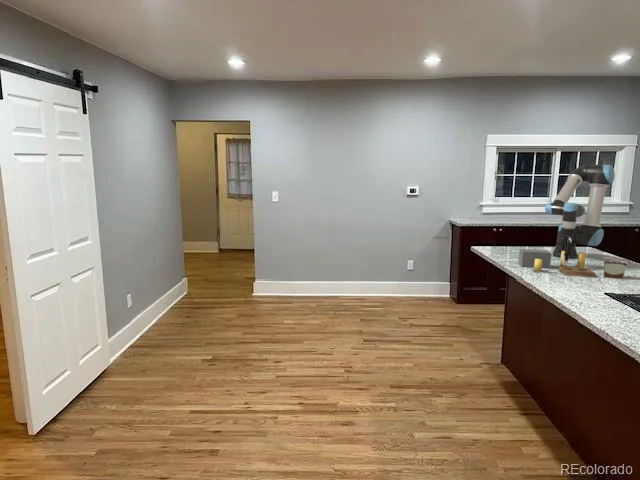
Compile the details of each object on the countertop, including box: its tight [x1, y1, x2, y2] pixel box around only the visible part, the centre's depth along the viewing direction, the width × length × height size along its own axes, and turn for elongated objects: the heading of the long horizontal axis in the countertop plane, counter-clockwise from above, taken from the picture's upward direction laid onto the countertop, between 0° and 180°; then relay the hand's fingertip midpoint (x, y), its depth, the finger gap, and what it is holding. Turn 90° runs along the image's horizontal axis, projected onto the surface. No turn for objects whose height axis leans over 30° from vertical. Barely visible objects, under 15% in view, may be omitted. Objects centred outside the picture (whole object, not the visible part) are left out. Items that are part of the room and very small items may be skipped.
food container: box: [602, 258, 629, 280], centre depth 246 cm, size 12×6×10 cm, turn 71°
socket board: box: [557, 265, 596, 278], centre depth 253 cm, size 12×16×2 cm
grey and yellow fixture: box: [531, 259, 558, 274], centre depth 256 cm, size 5×13×7 cm, turn 79°
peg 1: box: [559, 251, 568, 267], centre depth 267 cm, size 4×4×10 cm
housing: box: [517, 248, 553, 270], centre depth 269 cm, size 8×16×10 cm, turn 79°
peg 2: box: [576, 251, 587, 268], centre depth 265 cm, size 4×4×10 cm
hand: (563, 264), depth 268 cm, fingers closed on peg 1, 3 cm apart
